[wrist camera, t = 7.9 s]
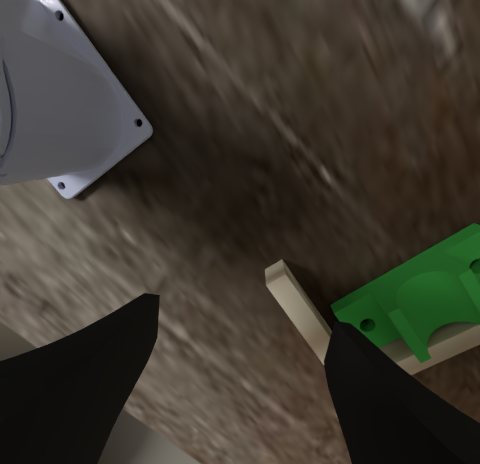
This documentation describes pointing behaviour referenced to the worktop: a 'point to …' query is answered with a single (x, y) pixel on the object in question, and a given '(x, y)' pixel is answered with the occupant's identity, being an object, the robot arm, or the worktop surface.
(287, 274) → the frame
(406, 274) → the pipe clamp
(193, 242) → the worktop surface
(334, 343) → the robot arm
